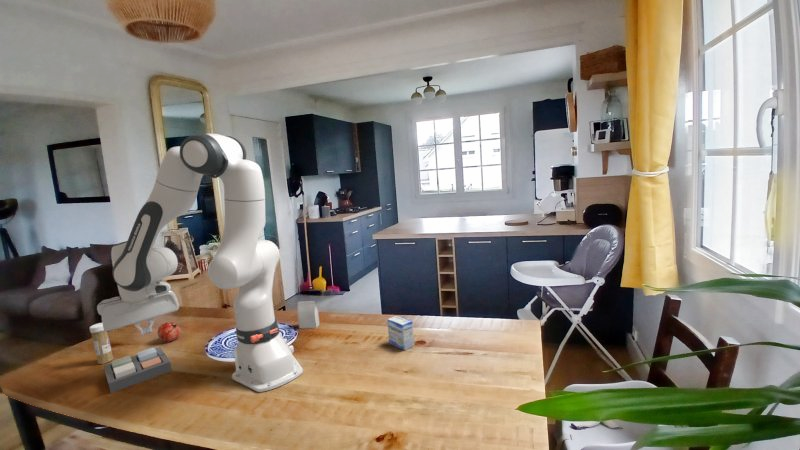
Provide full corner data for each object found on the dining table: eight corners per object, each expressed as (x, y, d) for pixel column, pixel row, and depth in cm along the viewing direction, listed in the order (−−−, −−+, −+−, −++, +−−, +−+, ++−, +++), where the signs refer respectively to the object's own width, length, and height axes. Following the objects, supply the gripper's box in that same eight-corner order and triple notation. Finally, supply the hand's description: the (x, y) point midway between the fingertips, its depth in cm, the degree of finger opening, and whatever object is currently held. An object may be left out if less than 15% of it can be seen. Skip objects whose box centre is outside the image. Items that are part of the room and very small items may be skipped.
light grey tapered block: (316, 328, 147) (313, 303, 146) (299, 328, 148) (296, 303, 147) (319, 324, 151) (316, 299, 149) (303, 324, 152) (299, 300, 150)
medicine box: (388, 343, 129) (386, 319, 127) (398, 339, 132) (396, 314, 130) (405, 351, 123) (402, 325, 122) (415, 345, 126) (412, 320, 124)
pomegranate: (157, 350, 145) (170, 336, 142) (148, 334, 147) (160, 320, 143) (175, 343, 152) (188, 330, 149) (167, 328, 154) (179, 314, 150)
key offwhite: (136, 374, 120) (135, 367, 119) (116, 381, 116) (115, 374, 116) (134, 369, 123) (132, 362, 123) (115, 375, 120) (113, 368, 120)
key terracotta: (163, 368, 124) (161, 361, 124) (144, 375, 121) (143, 368, 121) (160, 363, 128) (158, 356, 128) (142, 369, 125) (140, 362, 124)
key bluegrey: (158, 358, 129) (156, 351, 129) (140, 364, 126) (139, 357, 126) (155, 353, 133) (153, 347, 133) (138, 359, 130) (136, 352, 129)
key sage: (133, 366, 125) (131, 359, 124) (114, 373, 122) (112, 366, 121) (131, 361, 128) (129, 355, 128) (112, 368, 125) (110, 361, 125)
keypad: (172, 370, 124) (170, 361, 124) (110, 393, 114) (108, 383, 113) (161, 355, 136) (160, 347, 136) (105, 374, 126) (103, 365, 125)
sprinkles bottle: (113, 361, 135) (105, 324, 133) (97, 366, 132) (88, 328, 130) (114, 356, 138) (106, 321, 136) (98, 361, 136) (89, 324, 134)
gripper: (96, 304, 111) (107, 349, 113) (175, 283, 124) (184, 324, 127) (94, 300, 116) (105, 343, 118) (171, 280, 129) (179, 320, 131)
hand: (146, 333), depth 122 cm, fingers closed
